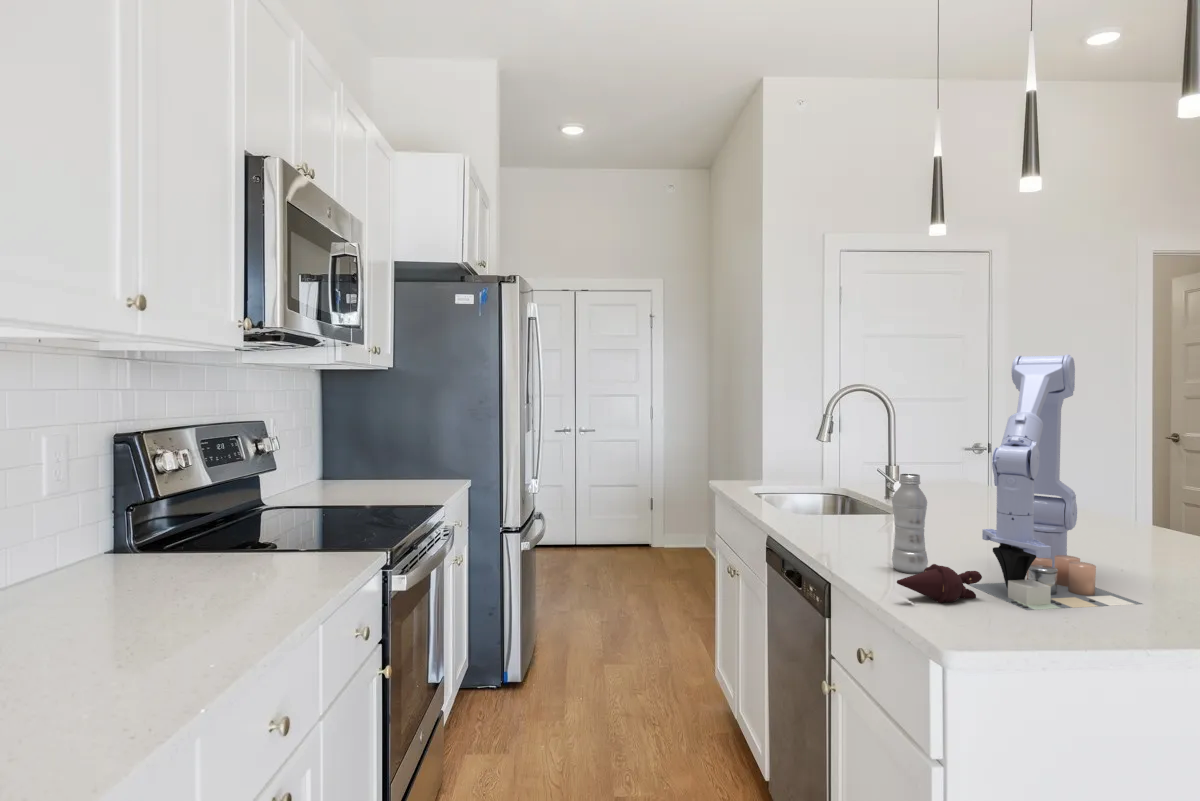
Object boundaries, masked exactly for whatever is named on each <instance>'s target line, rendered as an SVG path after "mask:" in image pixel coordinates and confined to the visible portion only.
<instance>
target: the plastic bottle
mask: <svg viewBox="0 0 1200 801" xmlns="http://www.w3.org/2000/svg"><path fill="white" fill-rule="evenodd" d="M898 482H899V484H900V486H899V487H898V488H897V490H896V491H895V492H894V494H893V495H892V498H891V505H892V511H893V512H892V513H893V517H894V519H893V520H894V540H893V541H894V543H893V544H894V545H893V549H892V556H891V562H892V566H893V568H894V570H895V571H897V572H901V573H902V574H903V573H905V574H910V575H911V574H913V575H916V574H919V573H922V572H924V569H925V568H927V567H928V563H929V559H928V554H927V551H926V550H927V549H926V542H925V524H926V515H927V509H928V500H927V496H926V495H925V493H924V492H923V491H922V488H920V486H919V485H921V475H920V474H917V473H900V474H899V481H898Z"/></svg>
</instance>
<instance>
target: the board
mask: <svg viewBox="0 0 1200 801" xmlns="http://www.w3.org/2000/svg"><path fill="white" fill-rule="evenodd" d="M967 586H970V587H972V588H974V589H976V590H979V591H981V592H983V593H986V594H988V595H991V596H993V597H994V598H998V599H1000V600H1002V601H1004V602H1006V603H1008V604H1011V605H1013V606H1016V607H1018V608H1020V609H1023V610H1026V611H1037V610H1038V611H1041V610H1056V609H1075V608H1095V607H1096V608H1097V607H1113V606H1132V605H1133V606H1134V605H1135V606H1136V605H1144V603H1142V602H1140V601H1136V600H1134V599H1131V598H1127V597H1125V596H1122V595H1119V594H1117V593H1113V592H1110V591H1107V590H1105V589H1101V588H1098V587H1096V586H1095V595H1091V596H1087V595H1079V594H1075V593H1072V592H1070V591H1068V587H1066V586H1061V585H1057V594H1055V595H1051V604H1041V605H1025V604H1023V603H1020V602H1018V601H1015V600H1013V599H1011V598H1008V588H1007V587H1006V583H1005V582H994V583H993V582H992V583H990V582H989V583H974V584H968V585H967Z"/></svg>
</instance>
